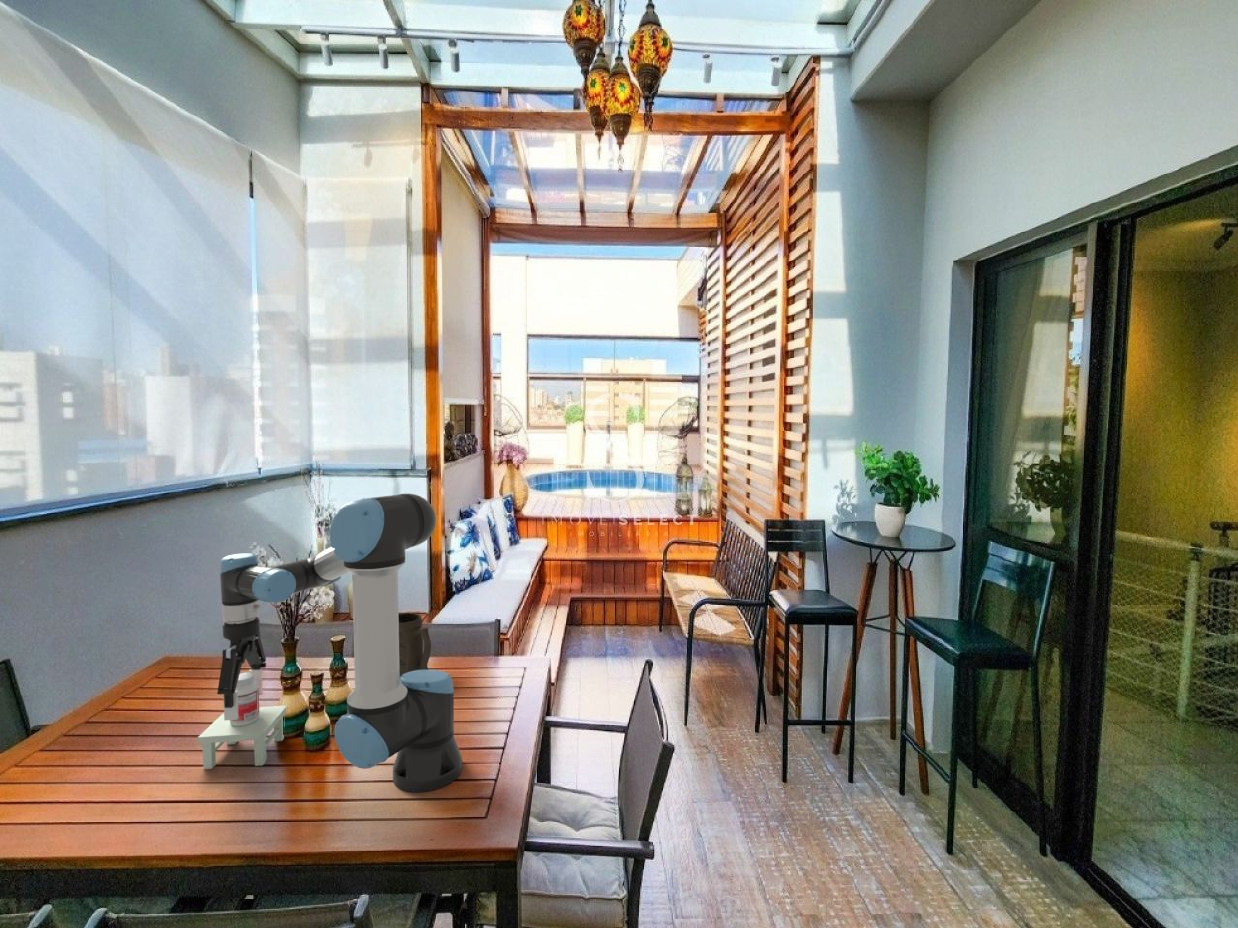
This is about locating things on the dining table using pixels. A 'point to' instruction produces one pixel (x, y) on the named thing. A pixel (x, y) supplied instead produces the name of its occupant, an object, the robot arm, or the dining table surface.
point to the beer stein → (413, 643)
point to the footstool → (243, 734)
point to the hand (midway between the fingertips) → (244, 706)
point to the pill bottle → (247, 700)
